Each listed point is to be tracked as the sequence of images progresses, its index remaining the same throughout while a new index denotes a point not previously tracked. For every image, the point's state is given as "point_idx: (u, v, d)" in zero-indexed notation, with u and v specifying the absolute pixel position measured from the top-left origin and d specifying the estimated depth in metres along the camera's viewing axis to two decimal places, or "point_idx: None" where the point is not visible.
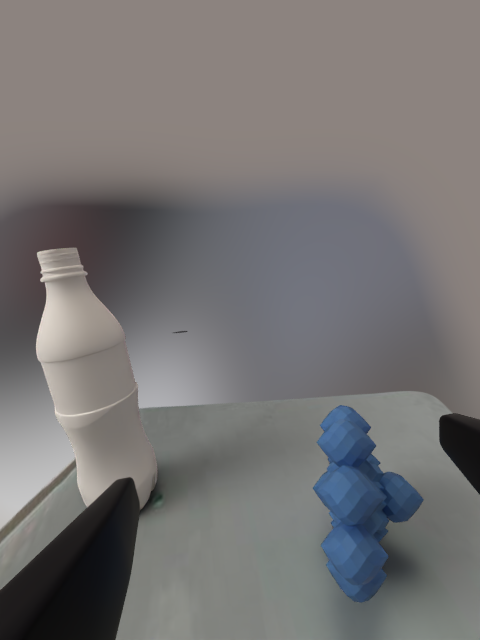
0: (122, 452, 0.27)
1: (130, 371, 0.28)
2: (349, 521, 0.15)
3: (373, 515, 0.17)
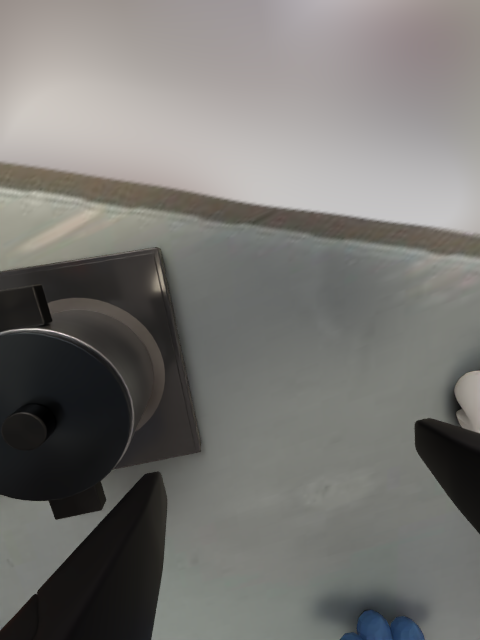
0: None
1: None
2: None
3: None
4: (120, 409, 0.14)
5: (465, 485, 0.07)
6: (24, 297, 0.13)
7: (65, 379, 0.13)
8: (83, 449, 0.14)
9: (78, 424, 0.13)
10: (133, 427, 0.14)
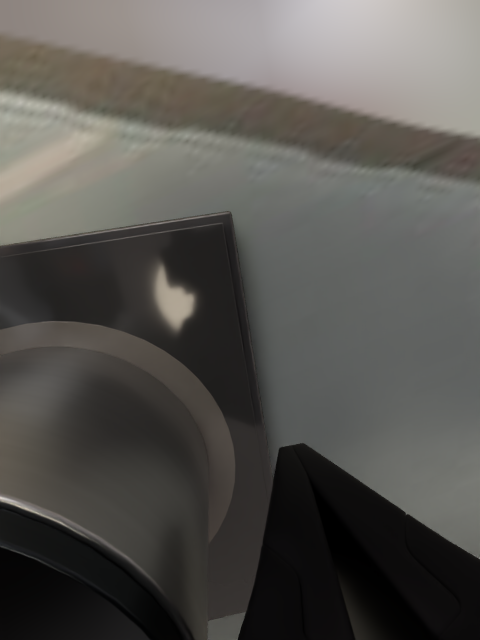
0: None
1: None
2: None
3: None
4: None
5: None
6: None
7: None
8: None
9: None
10: None
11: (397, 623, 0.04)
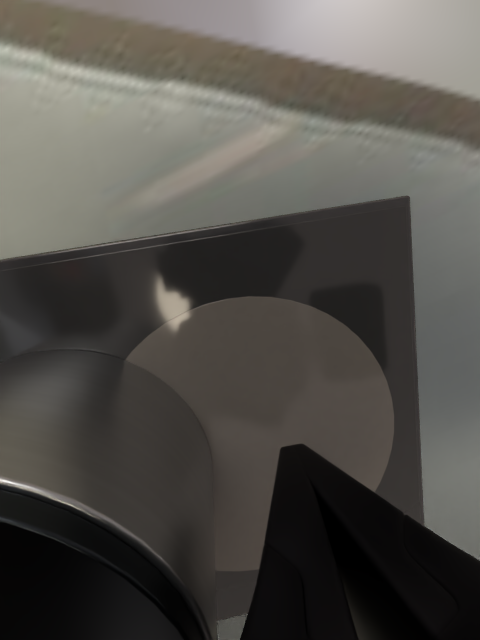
0: None
1: None
2: None
3: None
4: None
5: None
6: None
7: None
8: None
9: None
10: None
11: (395, 623, 0.04)
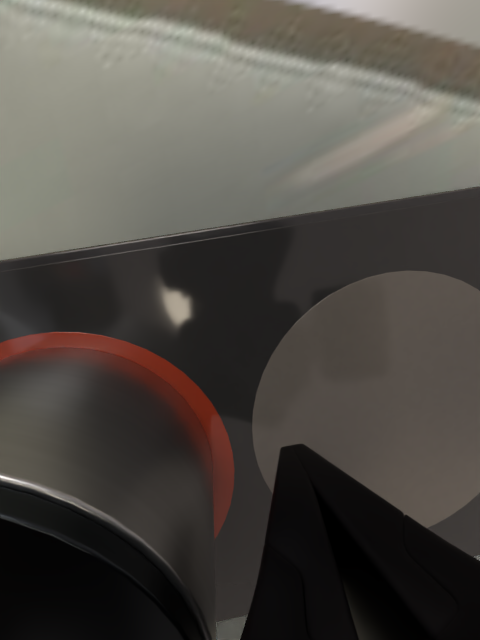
0: None
1: None
2: None
3: None
4: None
5: None
6: None
7: None
8: None
9: None
10: None
11: (394, 623, 0.04)
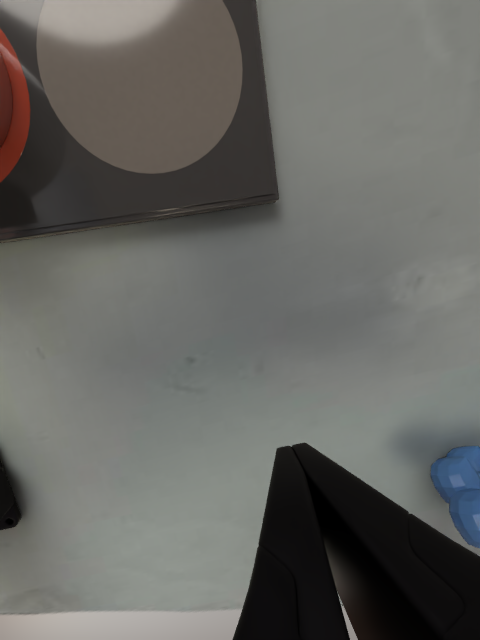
0: None
1: None
2: None
3: None
4: None
5: None
6: None
7: None
8: None
9: None
10: None
11: (400, 623, 0.04)
